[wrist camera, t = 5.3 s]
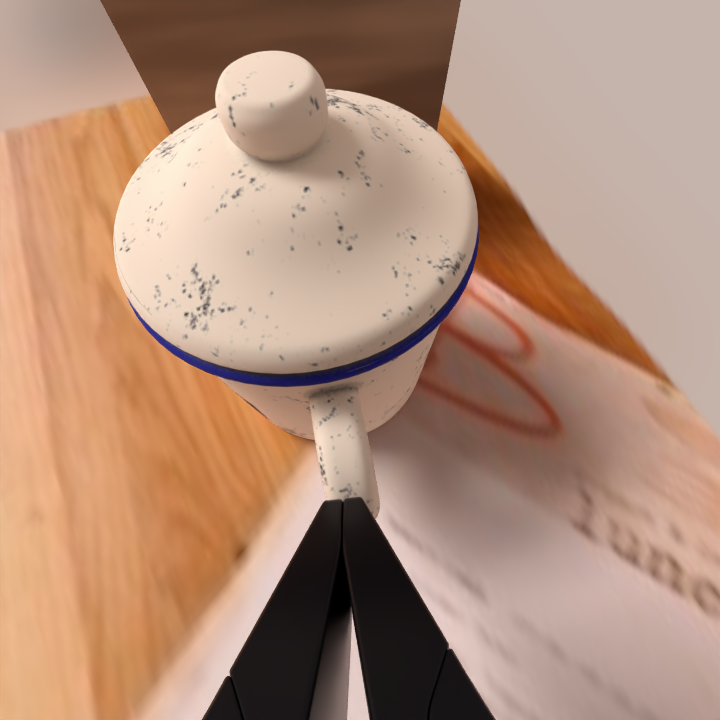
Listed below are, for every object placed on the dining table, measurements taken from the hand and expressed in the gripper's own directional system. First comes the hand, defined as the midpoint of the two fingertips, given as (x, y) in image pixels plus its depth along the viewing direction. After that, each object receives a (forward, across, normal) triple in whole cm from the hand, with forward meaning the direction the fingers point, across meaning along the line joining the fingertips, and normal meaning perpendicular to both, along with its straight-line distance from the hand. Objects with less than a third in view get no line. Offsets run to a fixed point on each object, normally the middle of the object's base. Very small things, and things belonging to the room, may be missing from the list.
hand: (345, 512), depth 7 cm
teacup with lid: (+9, 0, +1) cm, 9 cm away
